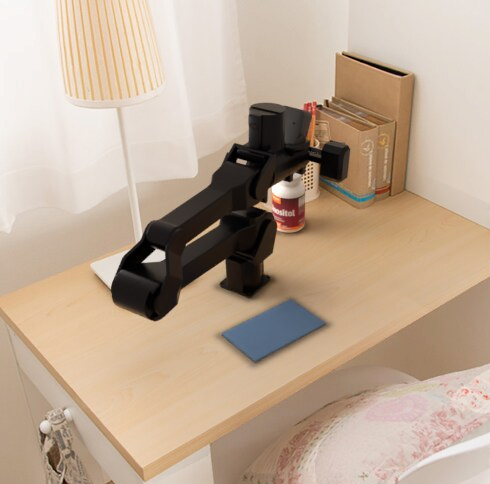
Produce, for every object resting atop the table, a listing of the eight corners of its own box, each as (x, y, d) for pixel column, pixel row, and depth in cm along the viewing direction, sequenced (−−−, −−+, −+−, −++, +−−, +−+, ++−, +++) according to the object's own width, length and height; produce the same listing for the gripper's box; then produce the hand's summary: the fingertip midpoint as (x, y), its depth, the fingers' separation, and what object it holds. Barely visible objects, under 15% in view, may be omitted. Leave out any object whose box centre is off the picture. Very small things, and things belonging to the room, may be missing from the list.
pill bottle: (266, 229, 141) (265, 176, 134) (281, 214, 145) (280, 162, 139) (296, 237, 138) (296, 183, 132) (310, 221, 143) (311, 169, 136)
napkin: (255, 362, 110) (255, 360, 109) (221, 335, 115) (221, 333, 115) (325, 324, 117) (325, 322, 116) (291, 300, 122) (291, 298, 122)
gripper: (329, 129, 114) (373, 105, 126) (229, 104, 123) (279, 84, 134) (323, 196, 120) (366, 167, 131) (228, 168, 128) (276, 143, 140)
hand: (321, 139), depth 134 cm, fingers open, 9 cm apart
